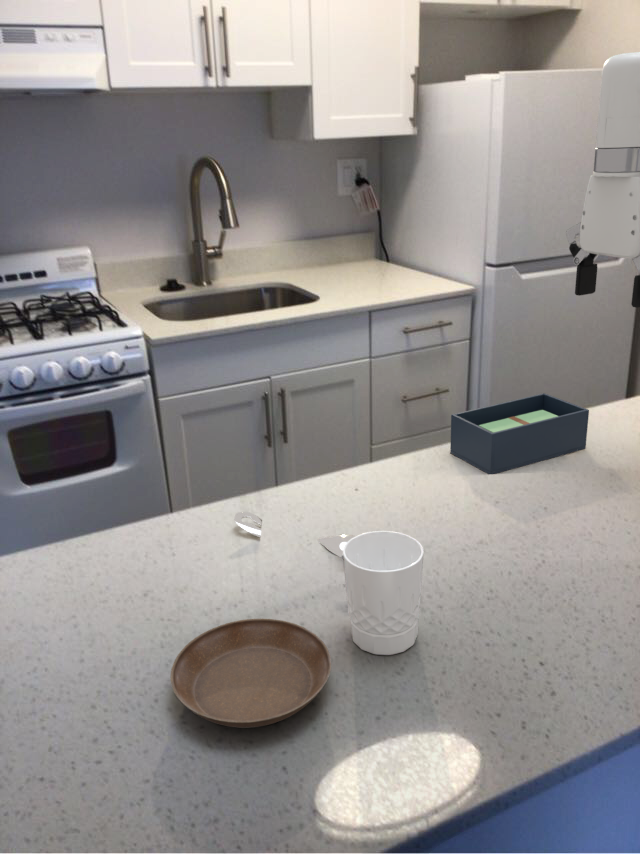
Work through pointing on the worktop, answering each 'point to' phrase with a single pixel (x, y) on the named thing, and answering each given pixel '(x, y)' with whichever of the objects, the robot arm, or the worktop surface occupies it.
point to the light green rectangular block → (517, 421)
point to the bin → (518, 433)
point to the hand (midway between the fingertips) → (612, 299)
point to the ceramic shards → (330, 542)
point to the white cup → (383, 590)
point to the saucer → (251, 672)
